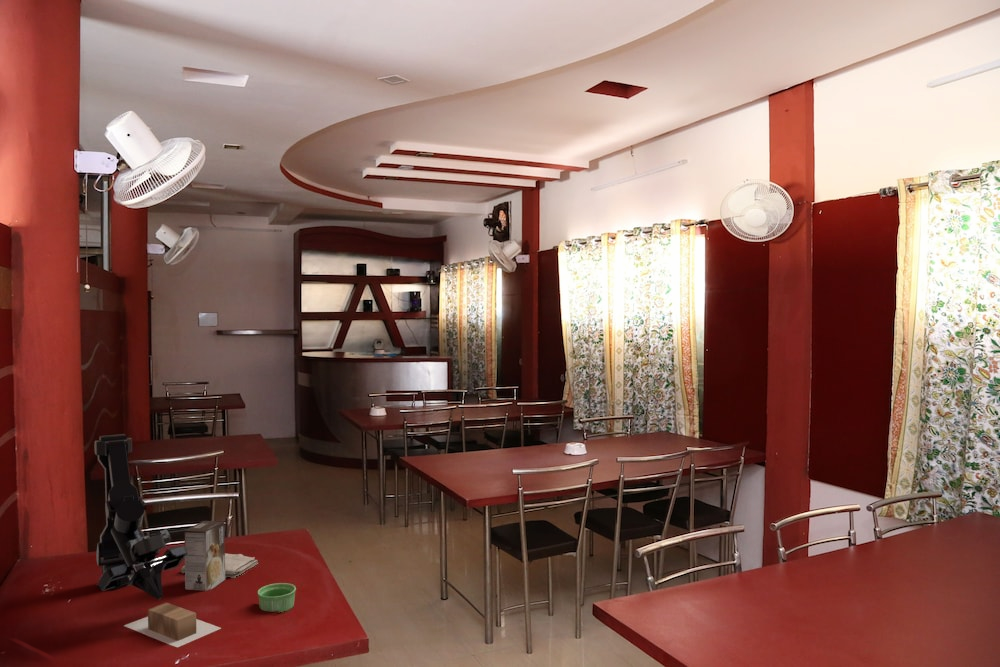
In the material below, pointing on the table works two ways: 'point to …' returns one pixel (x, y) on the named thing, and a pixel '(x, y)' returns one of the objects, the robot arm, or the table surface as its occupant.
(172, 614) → the walnut block
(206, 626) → the mat
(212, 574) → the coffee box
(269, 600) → the ramekin
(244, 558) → the washcloth
